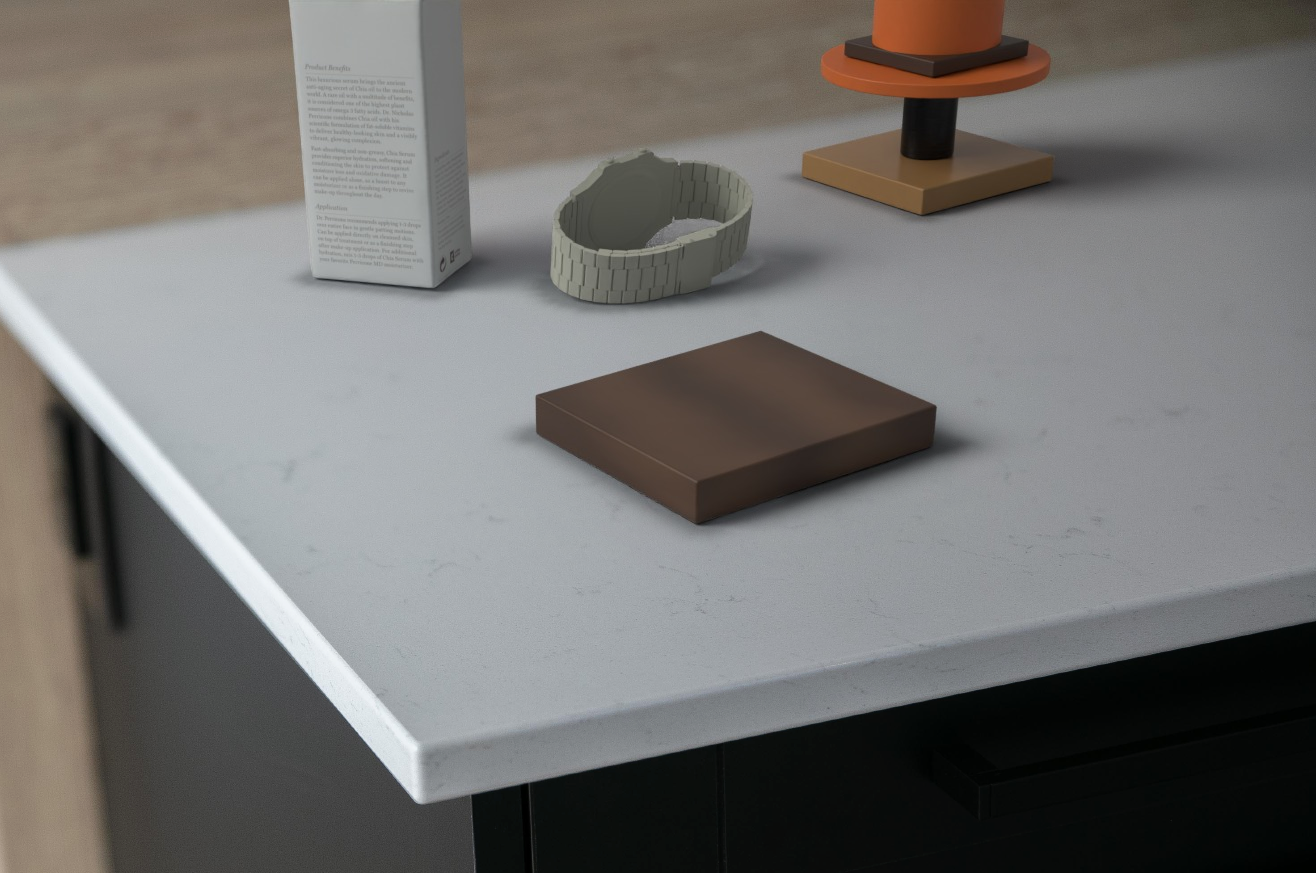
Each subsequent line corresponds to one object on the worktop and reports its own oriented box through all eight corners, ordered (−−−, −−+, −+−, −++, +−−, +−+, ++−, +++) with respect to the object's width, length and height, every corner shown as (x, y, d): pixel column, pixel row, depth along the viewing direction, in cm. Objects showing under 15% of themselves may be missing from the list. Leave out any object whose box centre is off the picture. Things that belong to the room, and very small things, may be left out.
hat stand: (927, 145, 96) (936, 42, 93) (1052, 181, 90) (1065, 71, 87) (800, 177, 93) (806, 70, 90) (921, 216, 86) (930, 102, 84)
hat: (936, 35, 95) (947, -98, 92) (1098, 71, 87) (1116, -73, 84) (775, 70, 91) (781, -68, 88) (930, 111, 83) (942, -38, 80)
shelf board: (759, 367, 72) (761, 329, 72) (934, 446, 65) (938, 405, 65) (534, 434, 68) (534, 394, 68) (695, 525, 61) (697, 482, 61)
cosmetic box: (474, 260, 85) (465, -25, 79) (434, 292, 82) (422, -3, 76) (350, 248, 88) (332, -29, 82) (306, 279, 84) (284, -8, 78)
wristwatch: (697, 237, 86) (700, 124, 83) (788, 275, 81) (794, 155, 78) (519, 279, 82) (517, 162, 80) (602, 322, 77) (603, 198, 75)
